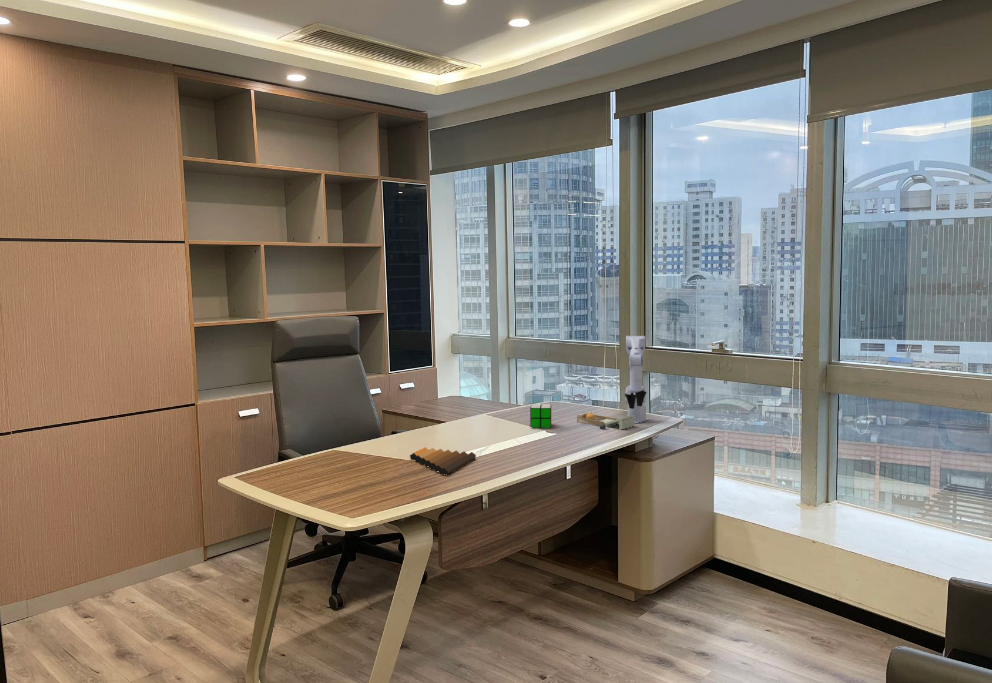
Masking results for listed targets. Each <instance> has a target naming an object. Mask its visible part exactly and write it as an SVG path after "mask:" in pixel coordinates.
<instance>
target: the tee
mask: <svg viewBox="0 0 992 683" xmlns="http://www.w3.org/2000/svg"><path fill="white" fill-rule="evenodd" d="M606 428H607V427H606V425H600V426H599V430H606Z"/></svg>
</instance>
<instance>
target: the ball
mask: <svg viewBox="0 0 992 683" xmlns="http://www.w3.org/2000/svg"><path fill="white" fill-rule="evenodd" d="M588 413H589V412H588ZM593 414H594V413H592V414H591V413H589V414H587V416H586V418H587V419H592V420H594V415H595V414H594V415H593Z"/></svg>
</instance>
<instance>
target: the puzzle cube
mask: <svg viewBox="0 0 992 683" xmlns="http://www.w3.org/2000/svg"><path fill="white" fill-rule="evenodd" d="M529 415H530V416H529V418H530V419H529V426H530V427H535V428H534V429H551V428H552V404H548V403H546V404H545V403H544V404H540V403H539V404H536V403H534V404H533V403H531V405H530V408H529Z"/></svg>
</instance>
